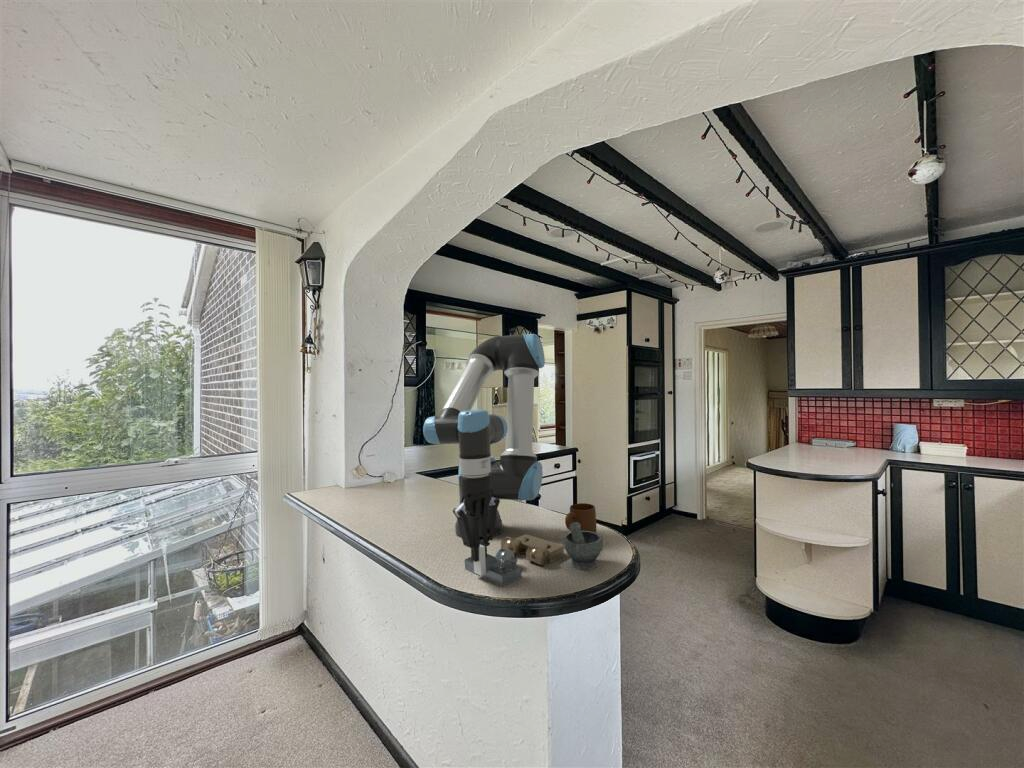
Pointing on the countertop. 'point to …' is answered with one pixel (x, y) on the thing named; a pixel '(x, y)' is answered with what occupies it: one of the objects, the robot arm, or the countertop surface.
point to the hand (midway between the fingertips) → (480, 572)
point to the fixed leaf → (534, 548)
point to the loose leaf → (498, 567)
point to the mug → (582, 516)
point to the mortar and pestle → (582, 547)
